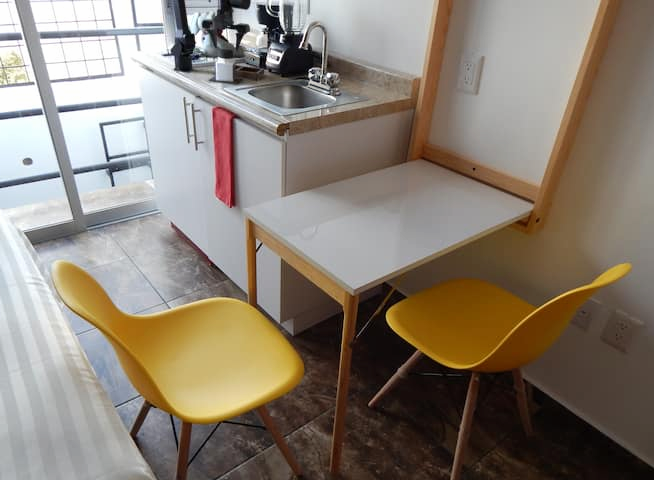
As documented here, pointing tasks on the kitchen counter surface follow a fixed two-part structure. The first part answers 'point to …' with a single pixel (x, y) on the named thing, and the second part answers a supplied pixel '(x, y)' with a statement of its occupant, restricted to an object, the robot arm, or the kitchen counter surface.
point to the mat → (227, 81)
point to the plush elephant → (207, 40)
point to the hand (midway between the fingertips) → (226, 49)
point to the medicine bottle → (225, 65)
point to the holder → (248, 72)
